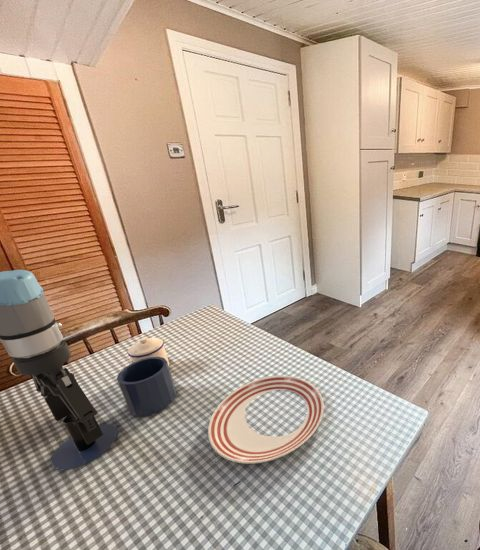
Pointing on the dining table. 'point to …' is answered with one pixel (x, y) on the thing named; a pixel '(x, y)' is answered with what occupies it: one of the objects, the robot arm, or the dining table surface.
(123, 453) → the dining table surface
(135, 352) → the teacup with lid
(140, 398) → the dark grey canister
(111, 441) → the pot lid
